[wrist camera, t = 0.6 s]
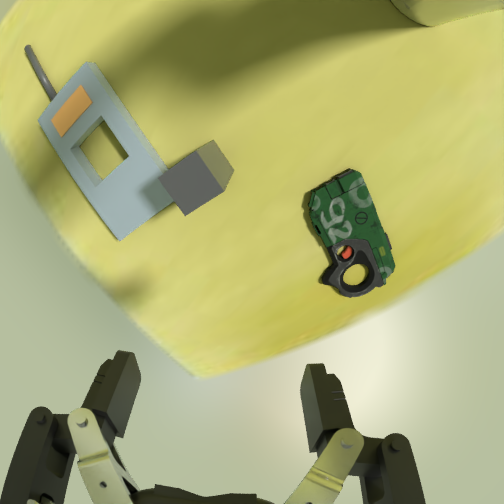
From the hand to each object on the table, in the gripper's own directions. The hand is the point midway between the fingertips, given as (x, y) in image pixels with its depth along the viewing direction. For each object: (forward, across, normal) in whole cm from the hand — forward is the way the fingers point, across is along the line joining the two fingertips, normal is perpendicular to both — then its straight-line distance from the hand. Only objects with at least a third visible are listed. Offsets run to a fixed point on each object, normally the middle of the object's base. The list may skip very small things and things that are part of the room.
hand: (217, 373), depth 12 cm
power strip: (+22, +19, -14) cm, 32 cm away
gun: (+22, -13, +2) cm, 26 cm away
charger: (+21, +3, -6) cm, 23 cm away
